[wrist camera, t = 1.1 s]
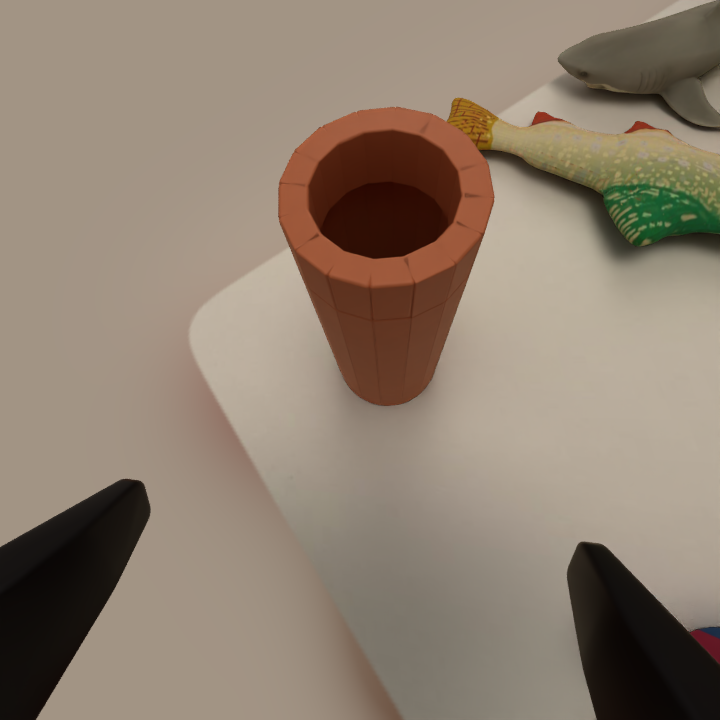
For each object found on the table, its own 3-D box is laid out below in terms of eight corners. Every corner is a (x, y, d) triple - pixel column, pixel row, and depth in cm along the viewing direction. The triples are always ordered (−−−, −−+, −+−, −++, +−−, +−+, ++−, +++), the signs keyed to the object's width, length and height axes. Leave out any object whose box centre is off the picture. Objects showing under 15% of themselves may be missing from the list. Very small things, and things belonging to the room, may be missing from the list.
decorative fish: (882, 204, 25) (885, 341, 21) (461, 104, 31) (406, 195, 27) (945, 159, 22) (960, 307, 18) (468, 59, 28) (408, 154, 25)
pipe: (419, 418, 23) (460, 313, 9) (326, 388, 24) (244, 253, 10) (446, 330, 24) (515, 130, 11) (358, 304, 25) (321, 90, 12)
